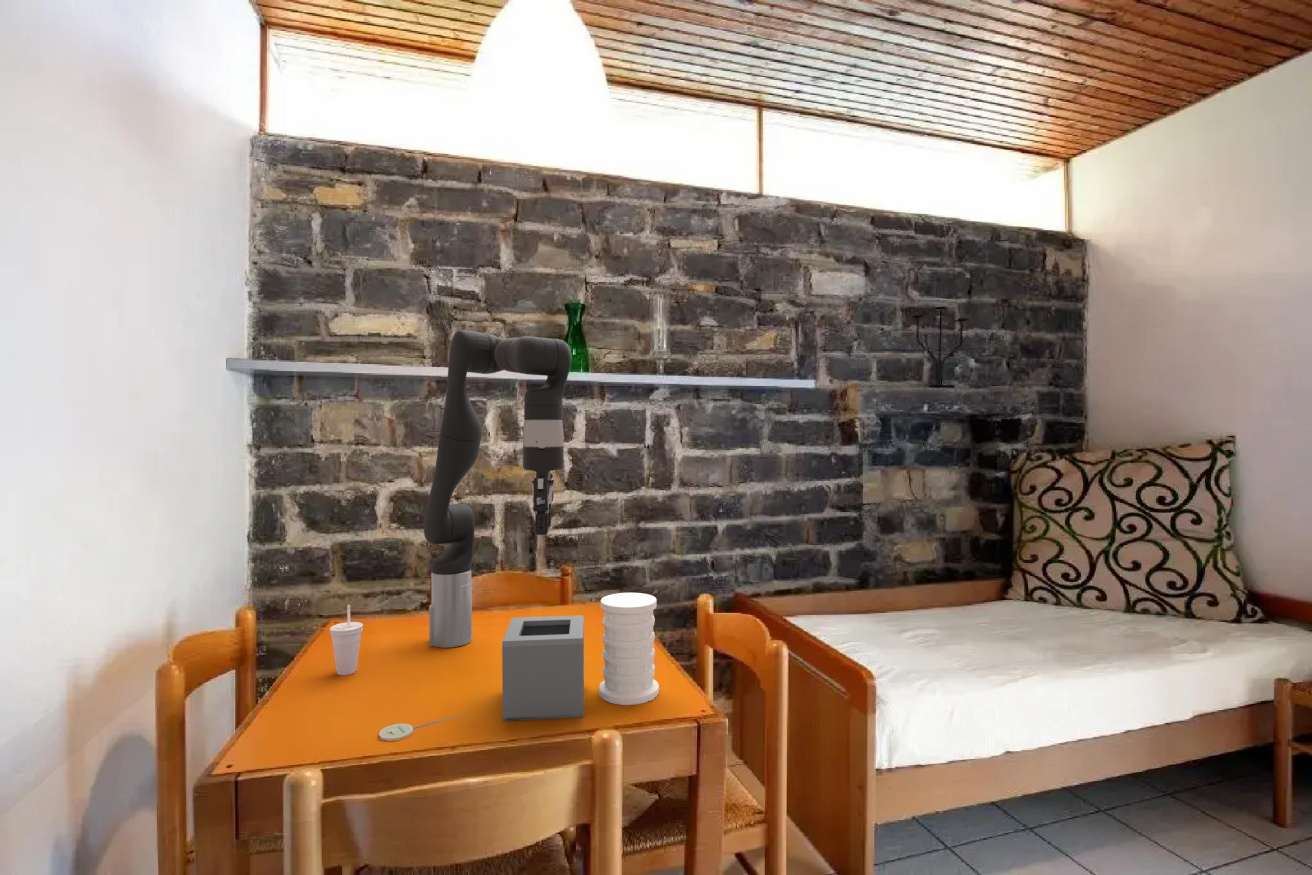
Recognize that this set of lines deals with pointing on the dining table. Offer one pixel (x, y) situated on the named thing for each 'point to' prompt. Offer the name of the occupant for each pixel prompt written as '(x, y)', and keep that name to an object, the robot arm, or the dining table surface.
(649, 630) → the decorative container
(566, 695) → the box
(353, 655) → the smoothie
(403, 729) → the sign
